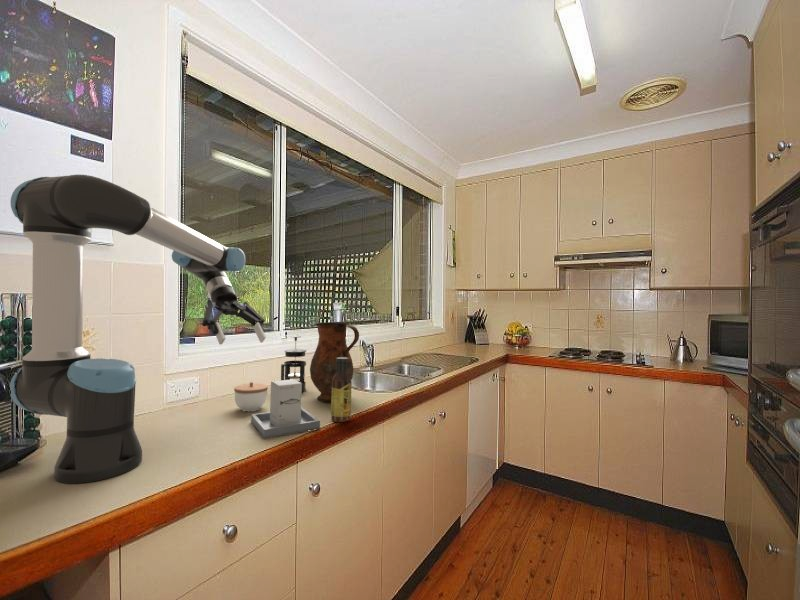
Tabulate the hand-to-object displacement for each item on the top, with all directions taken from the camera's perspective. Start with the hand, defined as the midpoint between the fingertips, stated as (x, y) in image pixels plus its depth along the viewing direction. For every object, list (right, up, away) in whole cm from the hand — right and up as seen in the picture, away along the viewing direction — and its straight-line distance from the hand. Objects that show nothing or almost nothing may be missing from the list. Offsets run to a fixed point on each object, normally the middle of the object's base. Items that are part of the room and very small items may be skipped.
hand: (243, 340), depth 118 cm
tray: (+14, -25, -4) cm, 29 cm away
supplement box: (+14, -25, -4) cm, 29 cm away
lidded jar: (-3, -25, +12) cm, 28 cm away
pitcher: (+24, -26, +26) cm, 44 cm away
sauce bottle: (+30, -26, +2) cm, 40 cm away
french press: (+4, -25, +39) cm, 47 cm away
